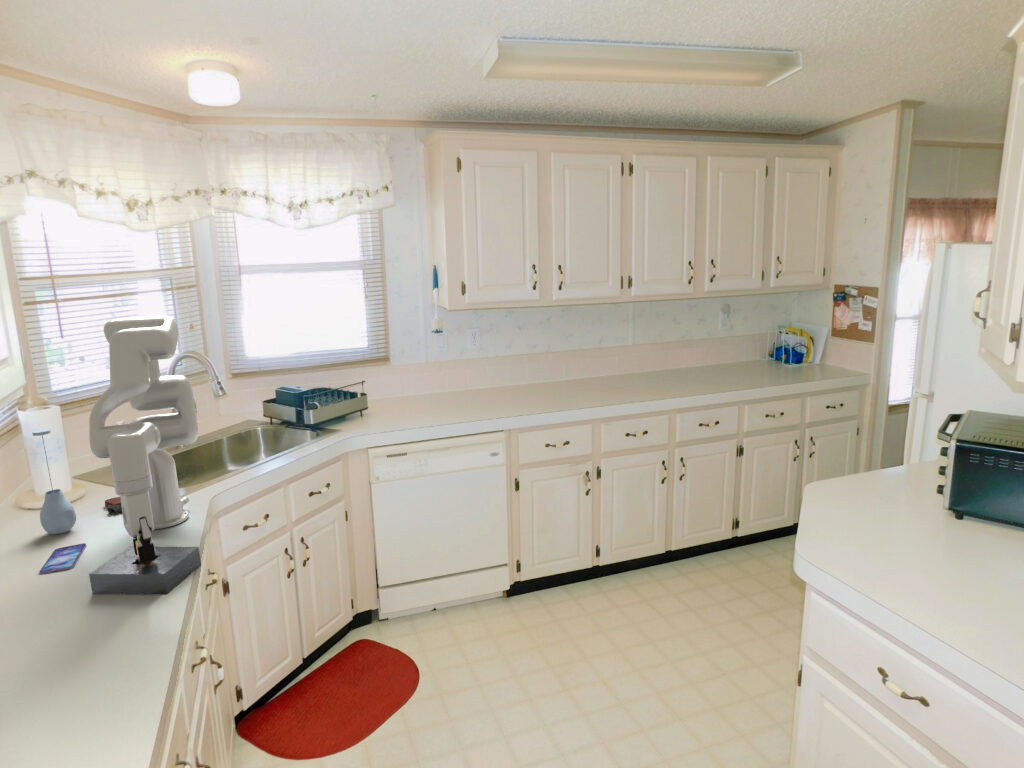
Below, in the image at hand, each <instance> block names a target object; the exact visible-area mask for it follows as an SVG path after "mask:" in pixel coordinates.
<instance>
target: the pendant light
mask: <svg viewBox="0 0 1024 768" xmlns="http://www.w3.org/2000/svg"><path fill="white" fill-rule="evenodd" d="M31 433H32V436H33V437H34V436H35V437H38V436H41V437H42V438H41V439H42V444H43V449H44V453H45V455H44V456H45V459H46V463H47V470H48V474H49V475H48V476H49V480H50V481H49V482H50V486H51V489H50V490H48V491H46V492H45V493H44V502H43V503H42V506H41V510H40V512H39V520H40V524H41V527H42V528H43V530H44V531H45V532H46V533H47V534H49V535H50V534H51V535H61V534H64V533H67V532H69V531H70V530H71V529H72V528H73V527H74V526H75V524H76V522H77V513H76V510H75V508H74V506H73V504H72V503H71V501H69V499H67V498H66V497H65V494H64V492H63V491H62V489H61V488H57V489H53V484H52V477H51V474H50V473H51V472H50V468H49V463H48V457H47V452H46V451H47V450H46V446H45V442H44V441H45V440H44V436H45V435H48V434H51V433H52V431H51V429H50V428H43V429H42V428H41V429H37V430H33V431H32V432H31Z"/></svg>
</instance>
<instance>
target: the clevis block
mask: <svg viewBox="0 0 1024 768" xmlns="http://www.w3.org/2000/svg"><path fill="white" fill-rule="evenodd" d="M154 551H155V557H156V558H155V559H154V560H153V562H151V563H150V564H139V561H138V555H135V550H134V545H133V546H132V545H131V546H128V547H126V549H123V550H122V551H120V552H119V553H118V554H116V555H115V556H114V557H111V558H110V559H109V560H107V561H106V562H104V563H103V564H101V565H100V566H99V567H97V568H95V569H94V570H92V571H91V572H89V573H88V577H89V582H90V588H91V594H92V595H139V596H140V595H143V596H144V595H148V596H149V595H150V596H151V595H155V596H156V595H157V596H158V595H161V596H164V595H165V596H168V594H170V592H172V591H173V590H175V588H177V587H178V586H179V585H180V584H181V583H182V582H184V581H185V580H186V579H187V578H188V577H189V576H191V575H192V574H193V573H194V572H196V570H198V569H199V568H200V567H201V566H202V562H201V561H202V559H201V555H200V554H201V553H200V548H199V546H154Z"/></svg>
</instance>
